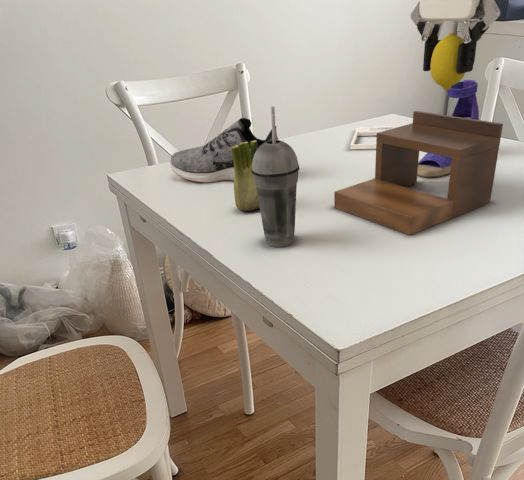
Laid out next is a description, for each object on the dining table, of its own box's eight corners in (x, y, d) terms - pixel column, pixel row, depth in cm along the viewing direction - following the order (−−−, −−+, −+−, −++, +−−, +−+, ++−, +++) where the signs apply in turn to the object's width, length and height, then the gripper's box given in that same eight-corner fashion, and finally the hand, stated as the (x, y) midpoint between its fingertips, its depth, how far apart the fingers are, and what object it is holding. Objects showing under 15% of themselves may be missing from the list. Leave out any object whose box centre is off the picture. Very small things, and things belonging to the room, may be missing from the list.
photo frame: (414, 124, 138) (413, 143, 124) (414, 129, 139) (413, 148, 125) (357, 126, 142) (350, 144, 128) (357, 130, 143) (350, 149, 128)
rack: (410, 181, 106) (416, 110, 99) (490, 202, 94) (503, 123, 86) (334, 207, 97) (333, 132, 90) (410, 235, 85) (417, 150, 77)
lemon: (466, 92, 83) (473, 33, 78) (429, 95, 84) (434, 36, 79) (462, 86, 87) (469, 29, 83) (427, 88, 88) (431, 32, 84)
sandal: (401, 173, 111) (406, 93, 102) (455, 150, 121) (464, 76, 112) (435, 180, 105) (444, 97, 97) (489, 156, 116) (501, 79, 107)
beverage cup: (254, 251, 84) (241, 115, 73) (260, 232, 90) (250, 104, 79) (300, 250, 83) (295, 112, 72) (304, 232, 89) (299, 101, 78)
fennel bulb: (261, 202, 103) (255, 136, 96) (268, 210, 99) (263, 142, 92) (231, 207, 102) (224, 141, 95) (238, 216, 98) (231, 147, 91)
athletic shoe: (184, 169, 126) (175, 114, 119) (293, 172, 117) (291, 113, 110) (165, 182, 118) (154, 124, 111) (280, 186, 110) (276, 124, 103)
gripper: (536, -86, 69) (511, 70, 80) (430, -70, 81) (420, 64, 92) (500, -84, 66) (479, 78, 76) (395, -68, 78) (389, 71, 88)
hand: (447, 69), depth 84 cm, fingers closed on lemon, 5 cm apart
